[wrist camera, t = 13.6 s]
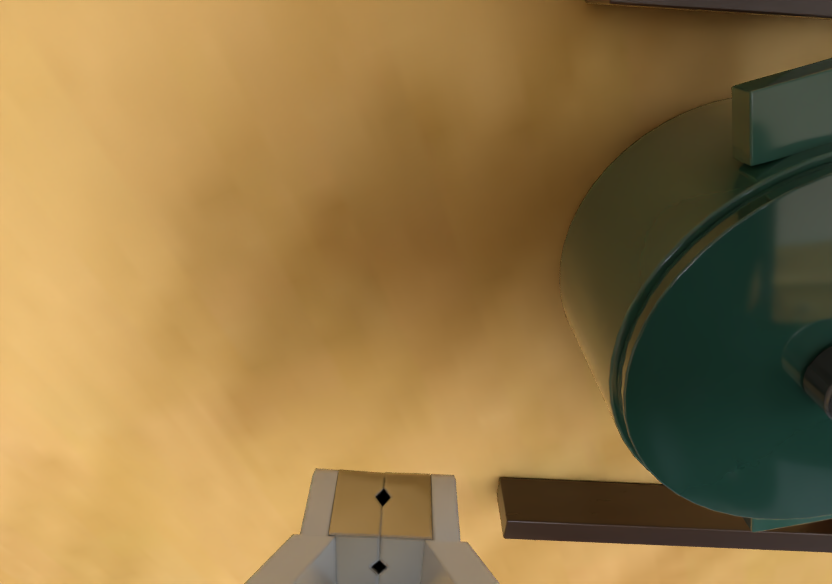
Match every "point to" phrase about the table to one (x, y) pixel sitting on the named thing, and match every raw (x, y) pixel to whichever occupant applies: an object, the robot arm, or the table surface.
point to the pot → (718, 299)
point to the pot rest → (645, 503)
